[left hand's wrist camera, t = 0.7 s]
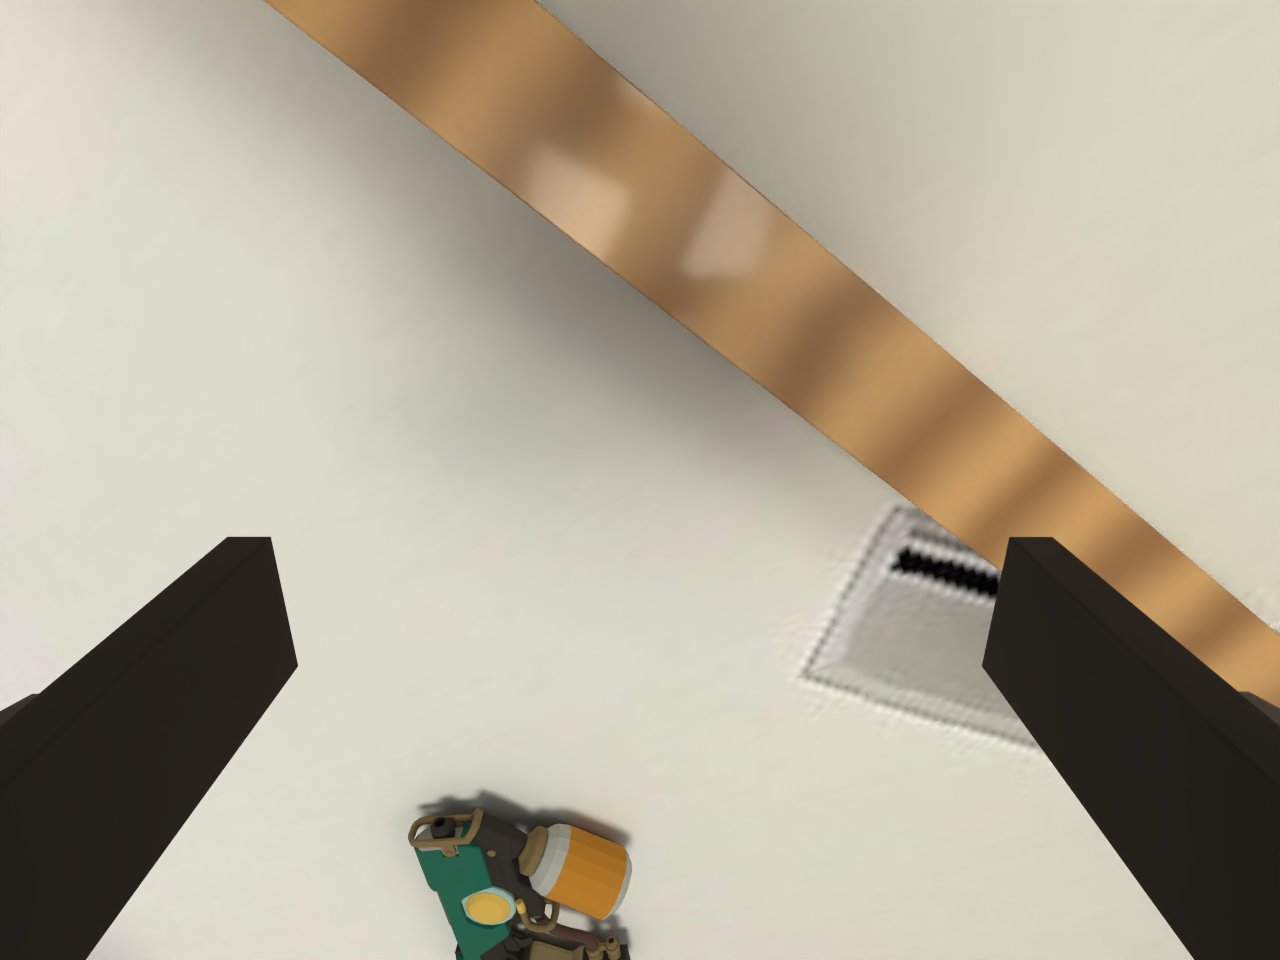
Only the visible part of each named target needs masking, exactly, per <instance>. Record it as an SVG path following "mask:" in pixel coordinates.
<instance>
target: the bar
mask: <svg viewBox="0 0 1280 960" xmlns="http://www.w3.org/2000/svg"><path fill="white" fill-rule="evenodd" d="M264 1H265V2H266V3H268V4H269V5H270V6H271V7H273V8H274V9H275V10H277V11H278V12H279V13H280V14H282V15H283V16H284V17H286V18H287V19H288V20H290V21H291V22H292V23H293V24H295V25H296V26H297V27H299V28H300V29H301V30H302V31H304V32H305V33H306V34H308V35H309V36H310V37H311V38H313V39H314V40H315V41H317V42H318V43H319V44H321V45H322V46H323V47H324V48H326V49H327V50H328V51H330V52H331V53H332V54H333V55H335V56H336V57H337V58H339V59H340V60H341V61H342V62H344V63H345V64H346V65H348V66H349V67H350V68H352V69H353V70H354V71H355V72H357V73H358V74H359V75H361V76H362V77H363V78H364V79H366V80H367V81H368V82H370V83H371V84H372V85H373V86H375V87H376V88H377V89H379V90H380V91H381V92H383V93H384V94H385V95H386V96H388V97H389V98H390V99H392V100H393V101H394V102H395V103H397V104H398V105H399V106H401V107H402V108H403V109H404V110H406V111H407V112H408V113H410V114H411V115H412V116H414V117H415V118H416V119H417V120H419V121H420V122H421V123H423V124H424V125H425V126H426V127H428V128H429V129H430V130H432V131H433V132H434V133H435V134H437V135H438V136H439V137H441V138H442V139H443V140H445V141H446V142H447V143H448V144H450V145H451V146H452V147H454V148H455V149H456V150H457V151H459V152H460V153H461V154H463V155H464V156H465V157H466V158H468V159H469V160H470V161H472V162H473V163H474V164H476V165H477V166H478V167H479V168H481V169H482V170H483V171H485V172H486V173H487V174H488V175H490V176H491V177H492V178H494V179H495V180H496V181H497V182H499V183H500V184H501V185H503V186H504V187H505V188H507V189H508V190H509V191H510V192H512V193H513V194H514V195H516V196H517V197H518V198H519V199H521V200H522V201H523V202H525V203H526V204H527V205H528V206H530V207H531V208H532V209H534V210H535V211H536V212H538V213H539V214H540V215H541V216H543V217H544V218H545V219H547V220H548V221H549V222H550V223H552V224H553V225H554V226H556V227H557V228H558V229H559V230H561V231H562V232H563V233H565V234H566V235H567V236H569V237H570V238H571V239H572V240H574V241H575V242H576V243H578V244H579V245H580V246H581V247H583V248H584V249H585V250H587V251H588V252H589V253H590V254H592V255H593V256H594V257H596V258H597V259H598V260H600V261H601V262H602V263H603V264H605V265H606V266H607V267H609V268H610V269H611V270H612V271H614V272H615V273H616V274H618V275H619V276H620V277H621V278H623V279H624V280H625V281H627V282H628V283H629V284H630V285H632V286H633V287H634V288H636V289H637V290H638V291H640V292H641V293H642V294H643V295H645V296H646V297H647V298H649V299H650V300H651V301H652V302H654V303H655V304H656V305H658V306H659V307H660V308H661V309H663V310H664V311H665V312H667V313H668V314H669V315H671V316H672V317H673V318H674V319H676V320H677V321H678V322H680V323H681V324H682V325H683V326H685V327H686V328H687V329H689V330H690V331H691V332H692V333H694V334H695V335H696V336H698V337H699V338H700V339H702V340H703V341H704V342H705V343H707V344H708V345H709V346H711V347H712V348H713V349H714V350H716V351H717V352H718V353H720V354H721V355H722V356H723V357H725V358H726V359H727V360H729V361H730V362H731V363H733V364H734V365H735V366H736V367H738V368H739V369H740V370H742V371H743V372H744V373H745V374H747V375H748V376H749V377H751V378H752V379H753V380H754V381H756V382H757V383H758V384H760V385H761V386H762V387H764V388H765V389H766V390H767V391H769V392H770V393H771V394H773V395H774V396H775V397H776V398H778V399H779V400H780V401H782V402H783V403H784V404H785V405H787V406H788V407H789V408H791V409H792V410H793V411H795V412H796V413H797V414H798V415H800V416H801V417H802V418H804V419H805V420H806V421H807V422H809V423H810V424H811V425H813V426H814V427H815V428H816V429H818V430H819V431H820V432H822V433H823V434H824V435H826V436H827V437H828V438H829V439H831V440H832V441H833V442H835V443H836V444H837V445H838V446H840V447H841V448H842V449H844V450H845V451H846V452H847V453H849V454H850V455H851V456H853V457H854V458H855V459H857V460H858V461H859V462H860V463H862V464H863V465H864V466H866V467H867V468H868V469H869V470H871V471H872V472H873V473H875V474H876V475H877V476H878V477H880V478H881V479H882V480H884V481H885V482H886V483H888V484H889V485H890V486H891V487H893V488H894V489H895V490H897V491H898V492H899V493H900V494H902V495H903V496H904V497H906V498H907V499H908V500H909V501H911V502H912V503H913V504H915V505H916V506H917V507H919V508H920V509H921V510H922V511H924V512H925V513H926V514H928V515H929V516H930V517H931V518H933V519H934V520H935V521H937V522H938V523H939V524H940V525H942V526H943V527H944V528H946V529H947V530H948V531H950V532H951V533H952V534H953V535H955V536H956V537H957V538H959V539H960V540H961V541H962V542H964V543H965V544H966V545H968V546H969V547H970V548H971V549H973V550H974V551H975V552H977V553H978V554H979V555H981V556H982V557H983V558H984V559H986V560H987V561H988V562H990V563H991V564H992V565H993V566H995V567H996V568H997V569H999V570H1000V571H1001V572H1002V569H1003V564H1004V560H1005V555H1006V550H1007V546H1008V541H1009V537H1053V538H1054V539H1056V540H1057V541H1058V542H1059V543H1060V544H1062V545H1063V546H1064V547H1065V548H1066V549H1068V550H1069V551H1070V552H1071V553H1072V554H1074V555H1075V556H1076V557H1077V558H1078V559H1080V560H1081V561H1082V562H1083V563H1084V564H1086V565H1087V566H1088V567H1089V568H1090V569H1092V570H1093V571H1094V572H1095V573H1096V574H1098V575H1099V576H1100V577H1101V578H1102V579H1104V580H1105V581H1106V582H1107V583H1108V584H1110V585H1111V586H1112V587H1113V588H1114V589H1116V590H1117V591H1118V592H1119V593H1120V594H1122V595H1123V596H1124V597H1125V598H1126V599H1128V600H1129V601H1130V602H1131V603H1132V604H1134V605H1135V606H1136V607H1137V608H1138V609H1140V610H1141V611H1142V612H1143V613H1144V614H1146V615H1147V616H1148V617H1149V618H1150V619H1152V620H1153V621H1154V622H1155V623H1156V624H1158V625H1159V626H1160V627H1161V628H1162V629H1164V630H1165V631H1166V632H1167V633H1168V634H1170V635H1171V636H1172V637H1173V638H1174V639H1176V640H1177V641H1178V642H1179V643H1180V644H1182V645H1183V646H1184V647H1185V648H1186V649H1188V650H1189V651H1190V652H1191V653H1192V654H1194V655H1195V656H1196V657H1197V658H1198V659H1200V660H1201V661H1202V662H1203V663H1204V664H1206V665H1207V666H1208V667H1209V668H1210V669H1212V670H1213V671H1214V672H1215V673H1216V674H1218V675H1219V676H1220V677H1221V678H1223V679H1224V680H1225V681H1226V682H1227V683H1229V684H1230V685H1231V686H1232V687H1233V688H1235V689H1236V690H1237V691H1249V692H1251V693H1252V694H1254V695H1256V696H1258V697H1260V698H1262V699H1264V700H1265V701H1267V702H1269V703H1271V704H1273V705H1275V706H1276V707H1278V708H1280V635H1278V634H1277V633H1276V632H1275V631H1274V630H1272V629H1271V628H1270V627H1269V626H1268V625H1267V624H1265V623H1264V622H1263V621H1262V620H1261V619H1260V618H1258V617H1257V616H1256V615H1255V614H1254V613H1253V612H1251V611H1250V610H1249V609H1248V608H1247V607H1246V606H1244V605H1243V604H1242V603H1241V602H1240V601H1238V600H1237V599H1236V598H1235V597H1234V596H1233V595H1231V594H1230V593H1229V592H1228V591H1227V590H1226V589H1224V588H1223V587H1222V586H1221V585H1220V584H1219V583H1217V582H1216V581H1215V580H1214V579H1213V578H1211V577H1210V576H1209V575H1208V574H1207V573H1206V572H1204V571H1203V570H1202V569H1201V568H1200V567H1199V566H1197V565H1196V564H1195V563H1194V562H1193V561H1192V560H1190V559H1189V558H1188V557H1187V556H1186V555H1185V554H1183V553H1182V552H1181V551H1180V550H1179V549H1177V548H1176V547H1175V546H1174V545H1173V544H1172V543H1170V542H1169V541H1168V540H1167V539H1166V538H1165V537H1163V536H1162V535H1161V534H1160V533H1159V532H1158V531H1156V530H1155V529H1154V528H1153V527H1152V526H1150V525H1149V524H1148V523H1147V522H1146V521H1145V520H1143V519H1142V518H1141V517H1140V516H1139V515H1138V514H1136V513H1135V512H1134V511H1133V510H1132V509H1131V508H1129V507H1128V506H1127V505H1126V504H1125V503H1124V502H1122V501H1121V500H1120V499H1119V498H1118V497H1116V496H1115V495H1114V494H1113V493H1112V492H1111V491H1109V490H1108V489H1107V488H1106V487H1105V486H1104V485H1102V484H1101V483H1100V482H1099V481H1098V480H1097V479H1095V478H1094V477H1093V476H1092V475H1091V474H1089V473H1088V472H1087V471H1086V470H1085V469H1084V468H1082V467H1081V466H1080V465H1079V464H1078V463H1077V462H1075V461H1074V460H1073V459H1072V458H1071V457H1070V456H1068V455H1067V454H1066V453H1065V452H1064V451H1063V450H1061V449H1060V448H1059V447H1058V446H1057V445H1055V444H1054V443H1053V442H1052V441H1051V440H1050V439H1048V438H1047V437H1046V436H1045V435H1044V434H1043V433H1041V432H1040V431H1039V430H1038V429H1037V428H1036V427H1034V426H1033V425H1032V424H1031V423H1030V422H1028V421H1027V420H1026V419H1025V418H1024V417H1023V416H1021V415H1020V414H1019V413H1018V412H1017V411H1016V410H1014V409H1013V408H1012V407H1011V406H1010V405H1009V404H1007V403H1006V402H1005V401H1004V400H1003V399H1002V398H1000V397H999V396H998V395H997V394H996V393H994V392H993V391H992V390H991V389H990V388H989V387H987V386H986V385H985V384H984V383H983V382H982V381H980V380H979V379H978V378H977V377H976V376H975V375H973V374H972V373H971V372H970V371H969V370H967V369H966V368H965V367H964V366H963V365H962V364H960V363H959V362H958V361H957V360H956V359H955V358H953V357H952V356H951V355H950V354H949V353H948V352H946V351H945V350H944V349H943V348H942V347H941V346H939V345H938V344H937V343H936V342H935V341H933V340H932V339H931V338H930V337H929V336H928V335H926V334H925V333H924V332H923V331H922V330H921V329H919V328H918V327H917V326H916V325H915V324H914V323H912V322H911V321H910V320H909V319H908V318H906V317H905V316H904V315H903V314H902V313H901V312H899V311H898V310H897V309H896V308H895V307H894V306H892V305H891V304H890V303H889V302H888V301H887V300H885V299H884V298H883V297H882V296H881V295H880V294H878V293H877V292H876V291H875V290H874V289H872V288H871V287H870V286H869V285H868V284H867V283H865V282H864V281H863V280H862V279H861V278H860V277H858V276H857V275H856V274H855V273H854V272H853V271H851V270H850V269H849V268H848V267H847V266H845V265H844V264H843V263H842V262H841V261H840V260H838V259H837V258H836V257H835V256H834V255H833V254H831V253H830V252H829V251H828V250H827V249H826V248H824V247H823V246H822V245H821V244H820V243H819V242H817V241H816V240H815V239H814V238H813V237H811V236H810V235H809V234H808V233H807V232H806V231H804V230H803V229H802V228H801V227H800V226H799V225H797V224H796V223H795V222H794V221H793V220H792V219H790V218H789V217H788V216H787V215H786V214H784V213H783V212H782V211H781V210H780V209H779V208H777V207H776V206H775V205H774V204H773V203H772V202H770V201H769V200H768V199H767V198H766V197H765V196H763V195H762V194H761V193H760V192H759V191H758V190H756V189H755V188H754V187H753V186H752V185H750V184H749V183H748V182H747V181H746V180H745V179H743V178H742V177H741V176H740V175H739V174H738V173H736V172H735V171H734V170H733V169H732V168H731V167H729V166H728V165H727V164H726V163H725V162H723V161H722V160H721V159H720V158H719V157H718V156H716V155H715V154H714V153H713V152H712V151H711V150H709V149H708V148H707V147H706V146H705V145H704V144H702V143H701V142H700V141H699V140H698V139H697V138H695V137H694V136H693V135H692V134H691V133H689V132H688V131H687V130H686V129H685V128H684V127H682V126H681V125H680V124H679V123H678V122H677V121H675V120H674V119H673V118H672V117H671V116H670V115H668V114H667V113H666V112H665V111H664V110H662V109H661V108H660V107H659V106H658V105H657V104H655V103H654V102H653V101H652V100H651V99H650V98H648V97H647V96H646V95H645V94H644V93H643V92H641V91H640V90H639V89H638V88H637V87H636V86H634V85H633V84H632V83H631V82H630V81H628V80H627V79H626V78H625V77H624V76H623V75H621V74H620V73H619V72H618V71H617V70H616V69H614V68H613V67H612V66H611V65H610V64H609V63H607V62H606V61H605V60H604V59H603V58H601V57H600V56H599V55H598V54H597V53H596V52H594V51H593V50H592V49H591V48H590V47H589V46H587V45H586V44H585V43H584V42H583V41H582V40H580V39H579V38H578V37H577V36H576V35H575V34H573V33H572V32H571V31H570V30H569V29H567V28H566V27H565V26H564V25H563V24H562V23H560V22H559V21H558V20H557V19H556V18H555V17H553V16H552V15H551V14H550V13H549V12H548V11H546V10H545V9H544V8H543V7H542V6H540V5H539V4H538V3H537V2H536V1H535V0H264Z"/></svg>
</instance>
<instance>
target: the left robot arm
mask: <svg viewBox="0 0 1280 960" xmlns="http://www.w3.org/2000/svg"><path fill="white" fill-rule="evenodd" d="M297 667H298V663H297V659H296V654H295V649H294V645H293V640H292V635H291V630H290V626H289V621H288V616H287V612H286V607H285V602H284V597H283V593H282V588H281V583H280V579H279V574H278V569H277V564H276V560H275V555H274V550H273V546H272V541H271V537H227V538H226V539H224V540H223V541H222V542H221V543H220V544H218V545H217V546H216V547H215V548H214V549H212V550H211V551H210V552H209V553H208V554H206V555H205V556H204V557H203V558H202V559H200V560H199V561H198V562H197V563H196V564H194V565H193V566H192V567H191V568H190V569H188V570H187V571H186V572H185V573H184V574H182V575H181V576H180V577H179V578H178V579H176V580H175V581H174V582H173V583H172V584H170V585H169V586H168V587H167V588H166V589H164V590H163V591H162V592H161V593H160V594H158V595H157V596H156V597H155V598H154V599H152V600H151V601H150V602H149V603H148V604H146V605H145V606H144V607H143V608H142V609H140V610H139V611H138V612H137V613H136V614H134V615H133V616H132V617H131V618H130V619H128V620H127V621H126V622H125V623H124V624H122V625H121V626H120V627H119V628H118V629H116V630H115V631H114V632H113V633H112V634H110V635H109V636H108V637H107V638H106V639H104V640H103V641H102V642H101V643H100V644H98V645H97V646H96V647H95V648H94V649H92V650H91V651H90V652H89V653H88V654H86V655H85V656H84V657H83V658H82V659H80V660H79V661H78V662H77V663H76V664H74V665H73V666H72V667H71V668H70V669H68V670H67V671H66V672H65V673H64V674H62V675H61V676H60V677H59V678H57V679H56V680H55V681H54V682H53V683H51V684H50V685H49V686H48V687H47V688H45V689H44V690H43V691H42V692H41V693H39V694H31V695H29V696H27V697H26V698H24V699H22V700H20V701H18V702H16V703H15V704H13V705H11V706H9V707H7V708H5V709H4V710H2V711H0V960H86V959H87V957H88V956H89V954H90V953H91V952H92V950H93V949H94V947H95V946H96V945H97V943H98V942H99V941H100V939H101V938H102V936H103V935H104V934H105V932H106V931H107V929H108V928H109V927H110V925H111V924H112V923H113V921H114V920H115V918H116V917H117V916H118V914H119V913H120V912H121V910H122V909H123V907H124V906H125V905H126V903H127V902H128V900H129V899H130V898H131V896H132V895H133V894H134V892H135V891H136V889H137V888H138V887H139V885H140V884H141V882H142V881H143V880H144V878H145V877H146V876H147V874H148V873H149V871H150V870H151V869H152V867H153V866H154V865H155V863H156V862H157V860H158V859H159V858H160V856H161V855H162V853H163V852H164V851H165V849H166V848H167V847H168V845H169V844H170V842H171V841H172V840H173V838H174V837H175V835H176V834H177V833H178V831H179V830H180V829H181V827H182V826H183V824H184V823H185V822H186V820H187V819H188V818H189V816H190V815H191V813H192V812H193V811H194V809H195V808H196V806H197V805H198V804H199V802H200V801H201V800H202V798H203V797H204V795H205V794H206V793H207V791H208V790H209V788H210V787H211V786H212V784H213V783H214V782H215V780H216V779H217V777H218V776H219V775H220V773H221V772H222V771H223V769H224V768H225V766H226V765H227V764H228V762H229V761H230V759H231V758H232V757H233V755H234V754H235V753H236V751H237V750H238V748H239V747H240V746H241V744H242V743H243V742H244V740H245V739H246V737H247V736H248V735H249V733H250V732H251V730H252V729H253V728H254V726H255V725H256V724H257V722H258V721H259V719H260V718H261V717H262V715H263V714H264V712H265V711H266V710H267V708H268V707H269V706H270V704H271V703H272V701H273V700H274V699H275V697H276V696H277V695H278V693H279V692H280V690H281V689H282V688H283V686H284V685H285V683H286V682H287V681H288V679H289V678H290V677H291V675H292V674H293V672H294V671H295V670H296V668H297ZM982 667H983V668H984V670H985V671H986V672H987V674H988V675H989V677H990V678H991V679H992V681H993V682H994V683H995V685H996V686H997V688H998V689H999V690H1000V692H1001V693H1002V695H1003V696H1004V697H1005V699H1006V700H1007V701H1008V703H1009V704H1010V706H1011V707H1012V708H1013V710H1014V711H1015V712H1016V714H1017V715H1018V717H1019V718H1020V719H1021V721H1022V722H1023V724H1024V725H1025V726H1026V728H1027V729H1028V730H1029V732H1030V733H1031V735H1032V736H1033V737H1034V739H1035V740H1036V742H1037V743H1038V744H1039V746H1040V747H1041V748H1042V750H1043V751H1044V753H1045V754H1046V755H1047V757H1048V758H1049V759H1050V761H1051V762H1052V764H1053V765H1054V766H1055V768H1056V769H1057V771H1058V772H1059V773H1060V775H1061V776H1062V777H1063V779H1064V780H1065V782H1066V783H1067V784H1068V786H1069V787H1070V789H1071V790H1072V791H1073V793H1074V794H1075V795H1076V797H1077V798H1078V800H1079V801H1080V802H1081V804H1082V805H1083V806H1084V808H1085V809H1086V811H1087V812H1088V813H1089V815H1090V816H1091V818H1092V819H1093V820H1094V822H1095V823H1096V824H1097V826H1098V827H1099V829H1100V830H1101V831H1102V833H1103V834H1104V835H1105V837H1106V838H1107V840H1108V841H1109V842H1110V844H1111V845H1112V847H1113V848H1114V849H1115V851H1116V852H1117V853H1118V855H1119V856H1120V858H1121V859H1122V860H1123V862H1124V863H1125V865H1126V866H1127V867H1128V869H1129V870H1130V871H1131V873H1132V874H1133V876H1134V877H1135V878H1136V880H1137V881H1138V882H1139V884H1140V885H1141V887H1142V888H1143V889H1144V891H1145V892H1146V894H1147V895H1148V896H1149V898H1150V899H1151V900H1152V902H1153V903H1154V905H1155V906H1156V907H1157V909H1158V910H1159V912H1160V913H1161V914H1162V916H1163V917H1164V918H1165V920H1166V921H1167V923H1168V924H1169V925H1170V927H1171V928H1172V929H1173V931H1174V932H1175V934H1176V935H1177V936H1178V938H1179V939H1180V941H1181V942H1182V943H1183V945H1184V946H1185V947H1186V949H1187V950H1188V952H1189V953H1190V954H1191V956H1192V957H1193V959H1194V960H1280V708H1278V707H1276V706H1275V705H1273V704H1271V703H1269V702H1267V701H1265V700H1264V699H1262V698H1260V697H1258V696H1256V695H1254V694H1252V693H1251V692H1249V691H1237V690H1236V689H1235V688H1233V687H1232V686H1231V685H1230V684H1229V683H1227V682H1226V681H1225V680H1224V679H1223V678H1221V677H1220V676H1219V675H1218V674H1216V673H1215V672H1214V671H1213V670H1212V669H1210V668H1209V667H1208V666H1207V665H1206V664H1204V663H1203V662H1202V661H1201V660H1200V659H1198V658H1197V657H1196V656H1195V655H1194V654H1192V653H1191V652H1190V651H1189V650H1188V649H1186V648H1185V647H1184V646H1183V645H1182V644H1180V643H1179V642H1178V641H1177V640H1176V639H1174V638H1173V637H1172V636H1171V635H1170V634H1168V633H1167V632H1166V631H1165V630H1164V629H1162V628H1161V627H1160V626H1159V625H1158V624H1156V623H1155V622H1154V621H1153V620H1152V619H1150V618H1149V617H1148V616H1147V615H1146V614H1144V613H1143V612H1142V611H1141V610H1140V609H1138V608H1137V607H1136V606H1135V605H1134V604H1132V603H1131V602H1130V601H1129V600H1128V599H1126V598H1125V597H1124V596H1123V595H1122V594H1120V593H1119V592H1118V591H1117V590H1116V589H1114V588H1113V587H1112V586H1111V585H1110V584H1108V583H1107V582H1106V581H1105V580H1104V579H1102V578H1101V577H1100V576H1099V575H1098V574H1096V573H1095V572H1094V571H1093V570H1092V569H1090V568H1089V567H1088V566H1087V565H1086V564H1084V563H1083V562H1082V561H1081V560H1080V559H1078V558H1077V557H1076V556H1075V555H1074V554H1072V553H1071V552H1070V551H1069V550H1068V549H1066V548H1065V547H1064V546H1063V545H1062V544H1060V543H1059V542H1058V541H1057V540H1056V539H1054V538H1053V537H1009V541H1008V546H1007V550H1006V555H1005V560H1004V564H1003V569H1002V574H1001V579H1000V583H999V588H998V593H997V597H996V602H995V607H994V612H993V616H992V621H991V626H990V630H989V635H988V640H987V645H986V649H985V654H984V659H983V663H982Z"/></svg>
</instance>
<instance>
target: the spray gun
mask: <svg viewBox="0 0 1280 960" xmlns="http://www.w3.org/2000/svg"><path fill="white" fill-rule="evenodd" d="M461 821H472V823H470V822H465V824H464V827H463V826H462V823H461ZM424 824H432V825H431V827H430V828H428V829H426V830H424V831H423V832H421V833H420V834H419V835H418V836H417V837H416V839H414V837H415V835H416V832H417V830H418V828H419V827H420V826H422V825H424ZM408 840H409V842H410V844H411V845H412V847H414V849H415V852H416V854H417V857H418V860H419V862H420V865H421V867H422V870H423V873H424V875H425V878H426V880H427V883H428V885H429V887H430V888H431V889H432V890H433V891H437V893H438V896H439V899H440V901H441V904H442V906H443V909H444V911H445V914H446V916H447V919H448V921H449V924H450V925H451V927H452V929H453V932H454V934H455V937H456V940H457V942H458V944H457V948H456V951H455V954H456V960H630V956H629V951H628V947H627V945H626V944H625V945H619V941H618V939H617V938H616V937H615V936H613V935H610V936H608V937H607V939H606V942H604V943H600V941H599V939H598V938H596V937H594V936H593V935H592V934H590V933H588V932H586V931H583V930H579V929H574V928H570V927H567V926H564V925H561V924H558V923H557V919H558V915H559V903H560V904H563V905H565V906H568V907H570V908H572V909H575V910H577V911H579V912H582V913H584V914H587V915H589V916H591V917H594V918H596V919H600V920H604V919H606V918H607V917H608V916H609V915H611V914H612V913H613V912H615V911H616V910H617V909H618V908H619V906H620V905H621V903H622V901H623V899H624V897H625V894H626V892H627V889H628V885H629V882H630V877H631V872H632V867H631V861H630V858H629V855H628V853H627V851H626V849H625V848H624V847H623V846H621V845H618V844H616V843H613V842H611V841H608V840H606V839H603V838H601V837H598V836H596V835H593V834H591V833H589V832H586V831H584V830H581V829H579V828H576V827H574V826H571V825H567V824H554V825H553V826H551V827H549V828H547V829H546V828H545V827H542V826H536V827H535V829H534V830H533V831H532V832H531V833H529V834H527V835H526V834H525V833H523V832H522V831H521V830H519V829H516V828H514V827H512V826H510V825H508V824H506V823H504V822H502V821H500V820H498V819H496V818H494V817H492V816H490V815H488V814H486V813H485V814H483V810H480V809H478V808H476V809H475V810H474V811H473V813H472V814H459V815H444V816H428V817H422V818H419V819H418V820H416V821H415V822H414V823H413V825H412V827H411V829H410V832H409V835H408ZM517 857H518V858H519V862H518V860H517ZM549 903H551V904H552V905H553V906H552V914H551V918H550V919H549V918H548V917H547V916H546V915H545V913H544V912H545V905H546V904H549ZM529 917H533V918H534V919H535V920H536V922H537V923H535V922H532V921H531V920H530V919H529ZM521 920H522V922H523V924H524V926H525V927H526V928H527V929H529V930H531V931H533V932H539V933H542V932H549V933H551V934H552V935H555V936H558V937H561V938H564V939H567V940H572V941H576V942H581V943H583V944H585V945H586V946H580V947H578V948H577V949H576V950H574V951H569V950H565V949H562V948H559V947H556V946H552V945H549V944H546V943H543V942H539V941H533V937H534V934H531V933H529V934H527V935H521V934H519V933H517V932H514V930H513V929H511V926H512V925H514V924H516V923H518V922H519V921H521Z"/></svg>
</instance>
